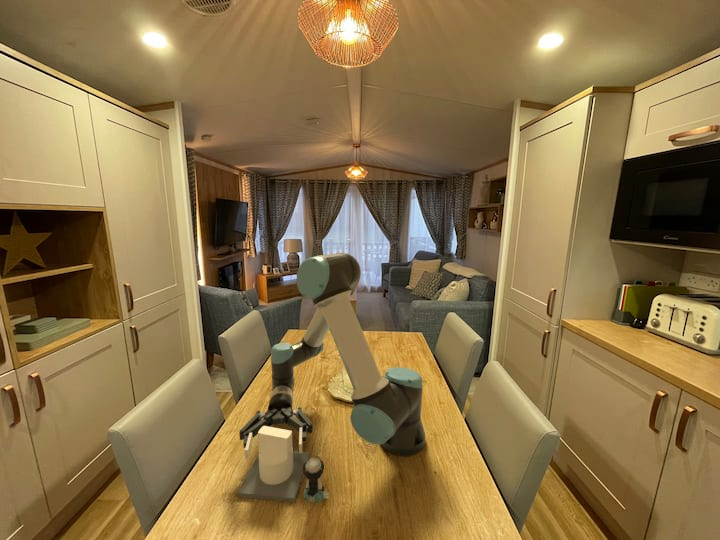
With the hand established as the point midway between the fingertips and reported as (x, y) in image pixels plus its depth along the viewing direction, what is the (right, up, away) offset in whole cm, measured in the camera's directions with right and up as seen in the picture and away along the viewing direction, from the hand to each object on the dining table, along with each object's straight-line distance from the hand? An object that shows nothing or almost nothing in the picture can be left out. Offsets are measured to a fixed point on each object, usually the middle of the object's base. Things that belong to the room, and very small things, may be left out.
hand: (273, 451), depth 79 cm
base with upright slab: (-1, -8, +5) cm, 10 cm away
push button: (+11, -11, -2) cm, 16 cm away
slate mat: (-1, -9, +5) cm, 11 cm away
